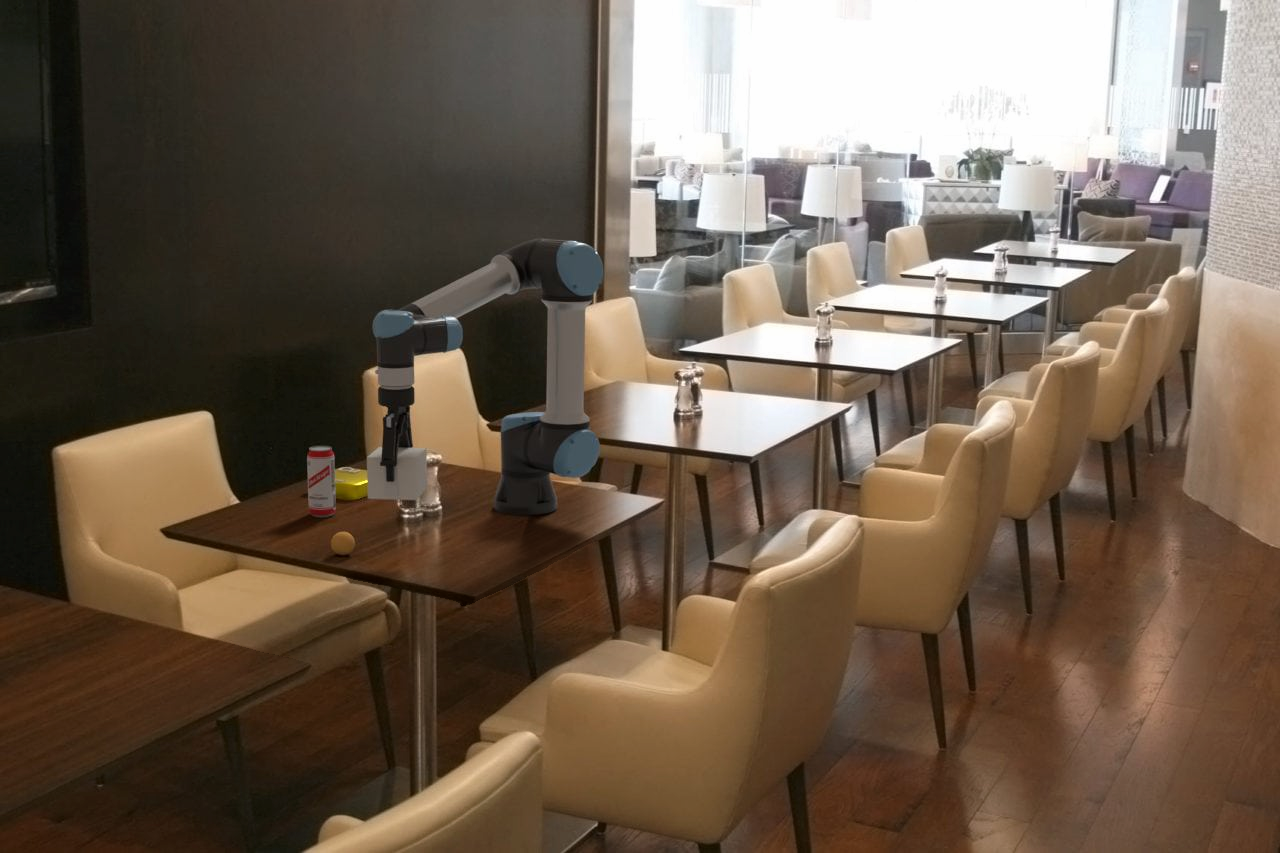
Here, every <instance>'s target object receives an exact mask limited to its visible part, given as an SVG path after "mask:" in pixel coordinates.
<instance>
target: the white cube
mask: <svg viewBox="0 0 1280 853" xmlns="http://www.w3.org/2000/svg"><path fill="white" fill-rule="evenodd" d="M427 458H428V456H427V447H412V448H402V447H398V455H397V465H398V488H399V496H398V497H391V496H385V475H384V466H380V462H381V460H382V446H378V447H377V448H376V449H375V450H374V451H372V452H371V453H370V454H369V455H367V457H366V470H367V487H368V496H367V499H368V500H369V499H370V500H394V501H395V500H396V501H398V500H399V501H417V500H418V499H419V498H420V497H421V496H422V495H423V494H424V493H425V491H427V489H428V472H427V471H428V470H427V468H428V466H427V464H428V463H427ZM388 459H390V458H388Z"/></svg>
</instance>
